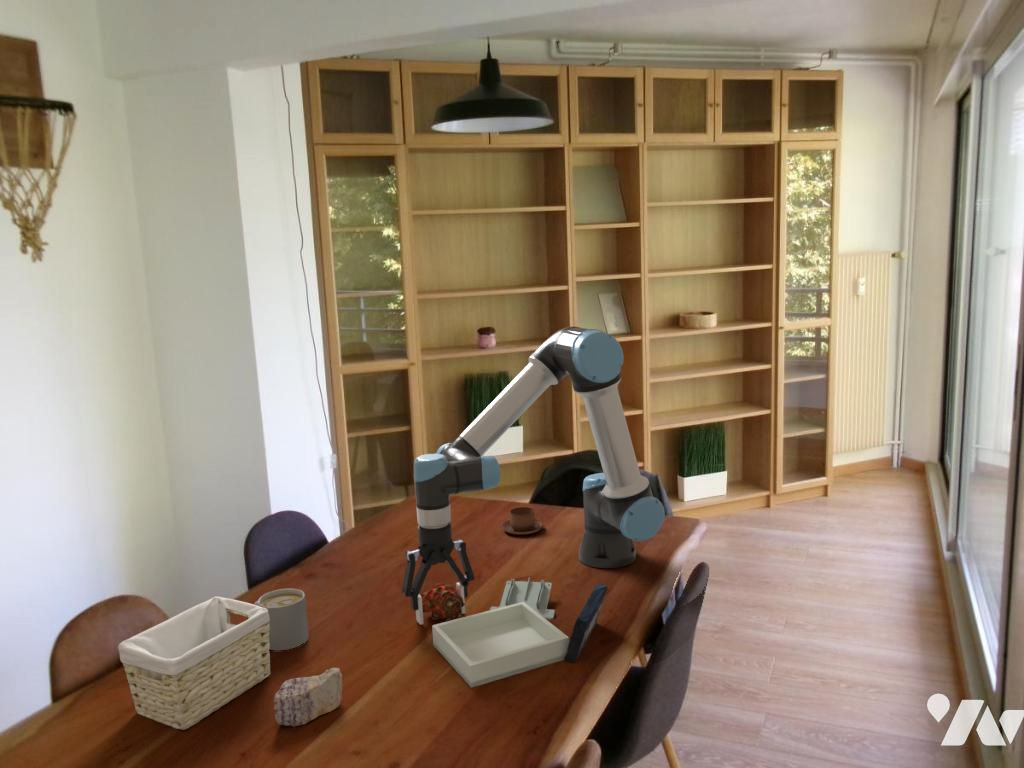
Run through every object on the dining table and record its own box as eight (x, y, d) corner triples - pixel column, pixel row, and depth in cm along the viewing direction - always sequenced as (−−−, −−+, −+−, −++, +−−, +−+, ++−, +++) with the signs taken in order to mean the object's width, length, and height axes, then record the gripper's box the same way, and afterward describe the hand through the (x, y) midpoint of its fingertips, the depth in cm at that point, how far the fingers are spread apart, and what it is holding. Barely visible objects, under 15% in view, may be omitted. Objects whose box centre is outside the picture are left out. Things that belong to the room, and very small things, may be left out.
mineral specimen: (326, 689, 160) (323, 657, 159) (349, 703, 155) (346, 670, 154) (262, 720, 151) (258, 686, 150) (284, 736, 145) (280, 701, 144)
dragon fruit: (462, 632, 184) (425, 626, 192) (478, 599, 189) (441, 595, 197) (442, 611, 180) (404, 606, 187) (459, 578, 185) (421, 574, 192)
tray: (524, 620, 186) (523, 601, 185) (569, 658, 168) (568, 637, 167) (433, 645, 176) (432, 625, 175) (471, 687, 158) (469, 666, 158)
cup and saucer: (505, 523, 251) (505, 504, 250) (545, 524, 249) (544, 504, 248) (499, 538, 239) (498, 517, 238) (540, 538, 237) (540, 517, 236)
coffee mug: (317, 637, 182) (314, 595, 180) (279, 656, 174) (275, 611, 173) (281, 622, 190) (277, 581, 189) (244, 639, 183) (239, 596, 181)
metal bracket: (498, 572, 200) (560, 574, 197) (501, 591, 202) (561, 593, 199) (486, 613, 187) (551, 616, 184) (489, 632, 190) (553, 636, 187)
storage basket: (180, 738, 146) (170, 661, 144) (122, 716, 154) (112, 642, 152) (279, 675, 167) (272, 607, 164) (224, 658, 175) (217, 593, 172)
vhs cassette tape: (574, 665, 166) (587, 622, 163) (561, 659, 167) (573, 617, 164) (598, 625, 183) (610, 586, 180) (585, 620, 184) (597, 581, 181)
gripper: (472, 509, 193) (478, 599, 197) (381, 528, 183) (389, 622, 187) (486, 518, 186) (491, 610, 190) (392, 538, 177) (400, 635, 180)
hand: (441, 616), depth 188 cm, fingers closed on dragon fruit, 9 cm apart
